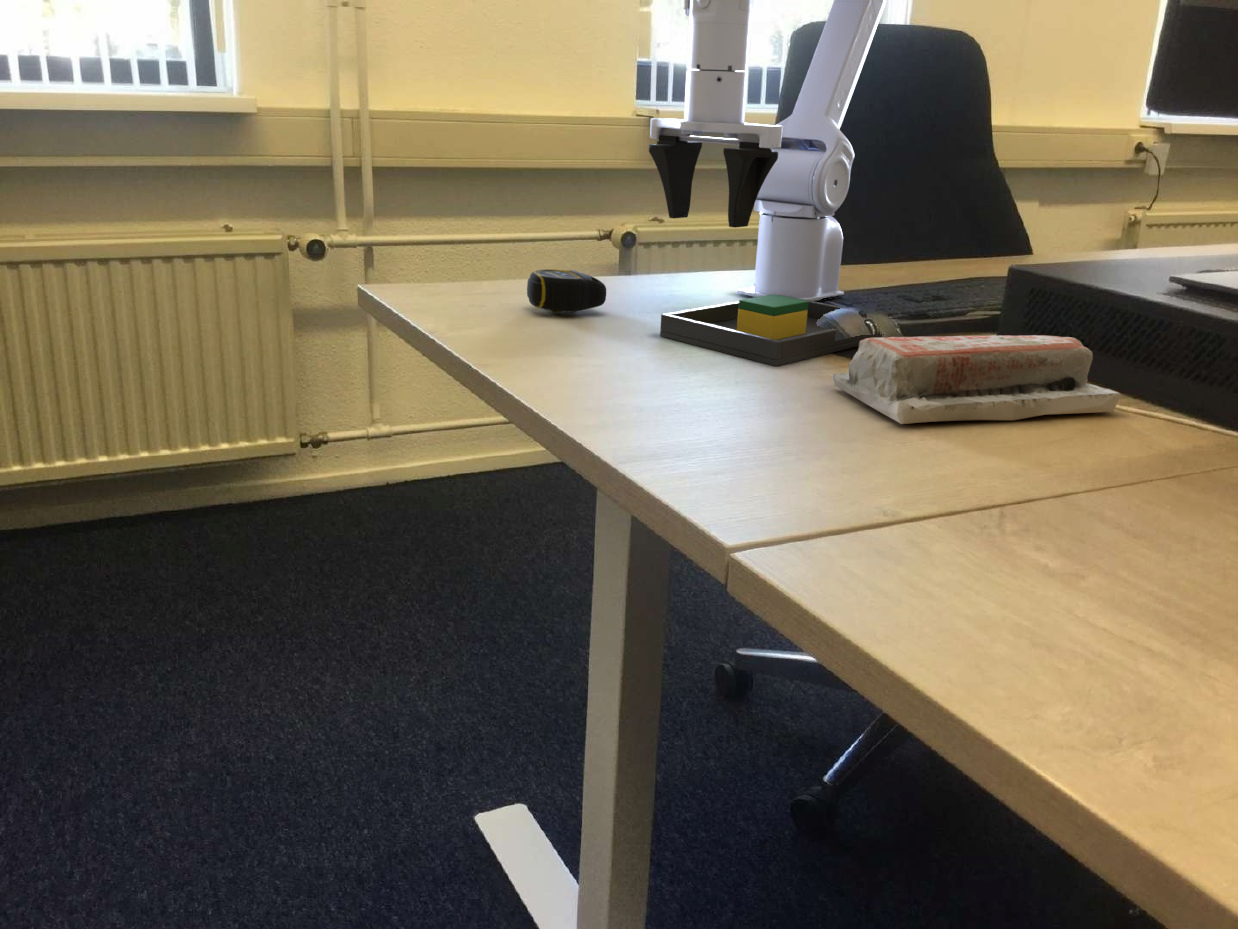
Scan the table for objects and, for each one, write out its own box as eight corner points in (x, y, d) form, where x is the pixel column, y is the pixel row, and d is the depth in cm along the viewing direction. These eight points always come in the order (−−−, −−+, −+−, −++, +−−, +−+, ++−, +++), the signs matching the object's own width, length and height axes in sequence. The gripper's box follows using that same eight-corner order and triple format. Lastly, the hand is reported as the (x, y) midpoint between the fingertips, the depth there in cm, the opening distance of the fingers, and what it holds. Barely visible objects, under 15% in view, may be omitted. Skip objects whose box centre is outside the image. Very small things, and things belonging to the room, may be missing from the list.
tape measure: (608, 315, 101) (610, 277, 100) (544, 320, 98) (545, 280, 97) (577, 302, 107) (578, 266, 106) (516, 306, 104) (516, 268, 103)
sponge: (770, 325, 97) (773, 294, 96) (805, 333, 95) (808, 301, 93) (736, 332, 94) (738, 299, 93) (771, 341, 91) (774, 307, 90)
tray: (777, 314, 105) (779, 294, 104) (891, 338, 96) (893, 317, 96) (659, 335, 94) (660, 314, 93) (775, 366, 85) (778, 342, 84)
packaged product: (909, 358, 68) (836, 326, 77) (900, 428, 70) (830, 389, 79) (1132, 349, 73) (1040, 319, 82) (1119, 415, 75) (1030, 379, 84)
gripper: (630, 68, 98) (625, 216, 102) (752, 71, 88) (740, 233, 93) (680, 71, 103) (673, 212, 107) (801, 73, 93) (787, 228, 98)
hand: (707, 221), depth 100 cm, fingers open, 7 cm apart
